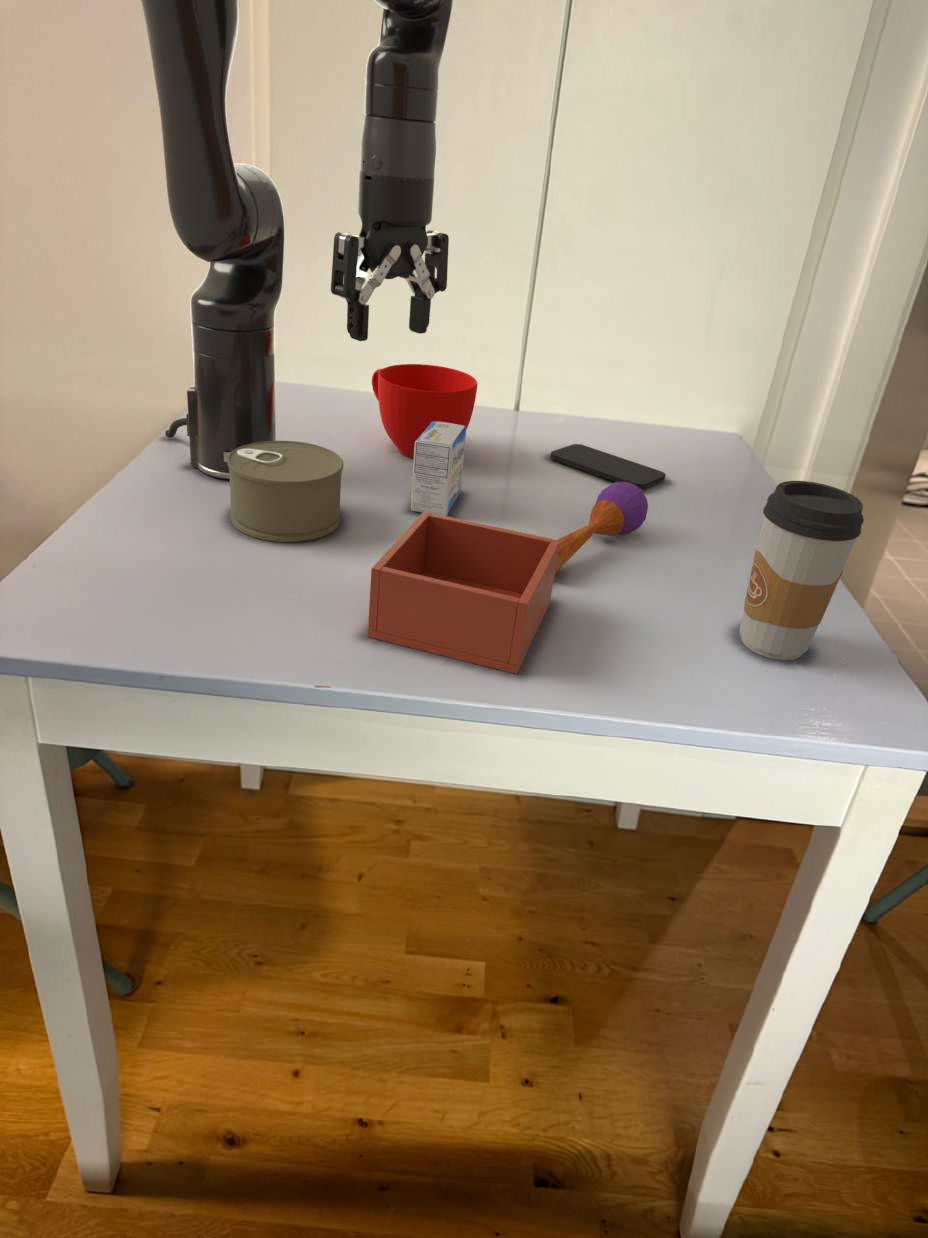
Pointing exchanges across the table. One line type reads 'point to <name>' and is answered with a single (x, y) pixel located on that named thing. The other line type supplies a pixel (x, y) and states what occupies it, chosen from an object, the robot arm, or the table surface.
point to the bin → (463, 590)
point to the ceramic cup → (421, 400)
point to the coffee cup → (797, 566)
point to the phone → (608, 465)
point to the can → (285, 490)
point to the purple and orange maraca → (607, 518)
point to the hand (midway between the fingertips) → (388, 335)
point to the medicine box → (438, 468)
